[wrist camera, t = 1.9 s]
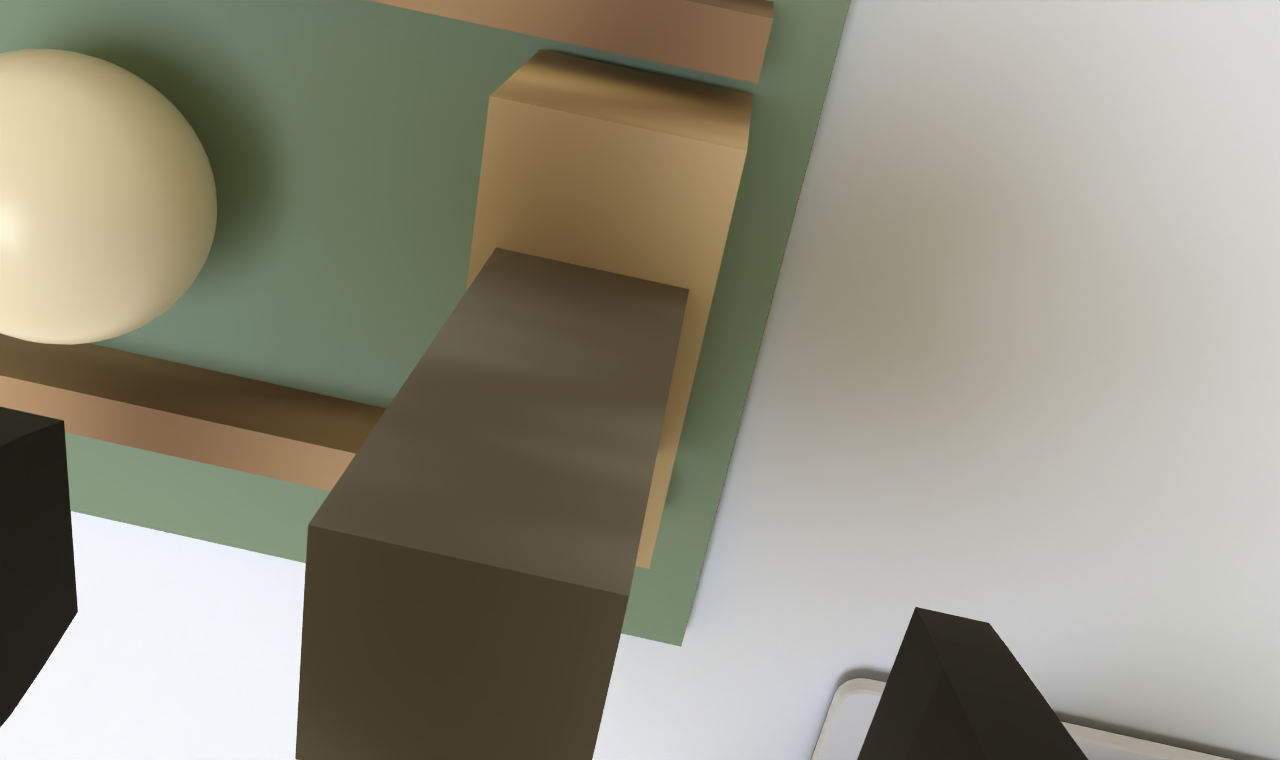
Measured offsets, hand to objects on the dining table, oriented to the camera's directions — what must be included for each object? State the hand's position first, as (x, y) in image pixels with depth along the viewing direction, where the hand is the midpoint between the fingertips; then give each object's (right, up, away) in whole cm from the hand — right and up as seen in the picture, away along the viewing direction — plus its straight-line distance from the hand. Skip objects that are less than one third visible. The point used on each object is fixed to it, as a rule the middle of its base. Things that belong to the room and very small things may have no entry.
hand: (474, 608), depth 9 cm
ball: (-7, +4, +6) cm, 10 cm away
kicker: (+1, +4, +8) cm, 9 cm away
